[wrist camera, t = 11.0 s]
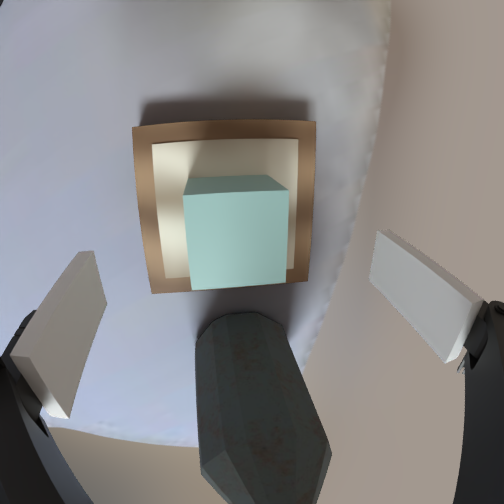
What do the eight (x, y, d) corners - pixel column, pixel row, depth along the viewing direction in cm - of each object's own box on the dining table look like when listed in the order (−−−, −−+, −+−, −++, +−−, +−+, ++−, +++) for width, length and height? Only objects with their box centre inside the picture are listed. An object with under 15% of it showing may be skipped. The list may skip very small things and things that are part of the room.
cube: (187, 178, 21) (182, 195, 16) (267, 174, 22) (289, 190, 17) (193, 252, 24) (191, 290, 18) (266, 247, 24) (285, 282, 19)
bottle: (289, 304, 30) (424, 594, 3) (283, 369, 34) (366, 597, 7) (189, 313, 29) (219, 649, 2) (199, 377, 33) (231, 625, 6)
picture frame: (139, 127, 21) (131, 127, 19) (305, 121, 23) (316, 121, 21) (155, 280, 27) (151, 294, 24) (299, 269, 29) (308, 281, 27)
